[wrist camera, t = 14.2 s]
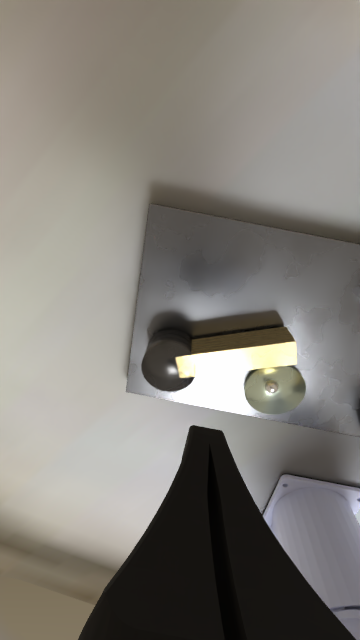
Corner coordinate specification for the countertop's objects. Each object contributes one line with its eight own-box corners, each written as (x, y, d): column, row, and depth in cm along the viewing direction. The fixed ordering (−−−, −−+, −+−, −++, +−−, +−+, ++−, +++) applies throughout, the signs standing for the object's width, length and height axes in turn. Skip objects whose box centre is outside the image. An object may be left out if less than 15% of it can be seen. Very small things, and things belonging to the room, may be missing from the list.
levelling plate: (400, 435, 24) (419, 457, 22) (129, 383, 24) (122, 400, 22) (506, 272, 18) (544, 281, 16) (152, 203, 18) (146, 204, 16)
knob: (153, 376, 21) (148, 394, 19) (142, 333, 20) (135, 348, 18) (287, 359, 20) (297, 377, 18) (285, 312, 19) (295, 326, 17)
